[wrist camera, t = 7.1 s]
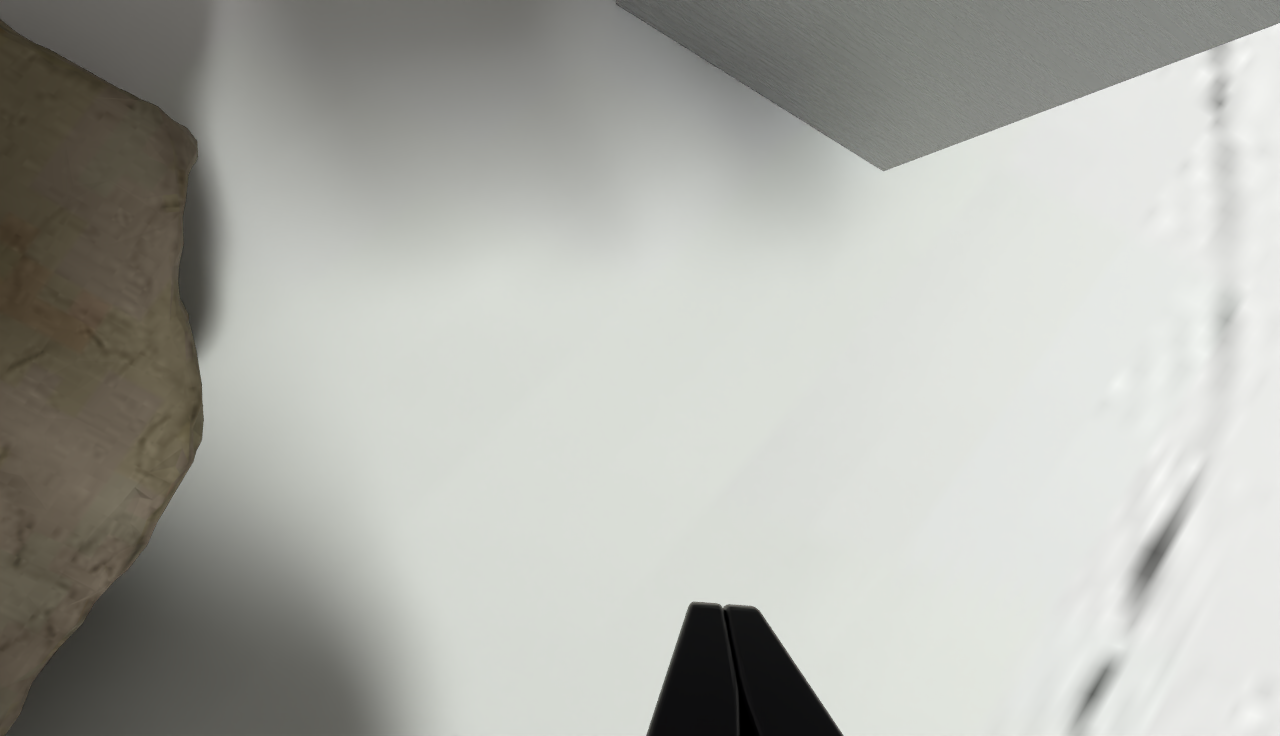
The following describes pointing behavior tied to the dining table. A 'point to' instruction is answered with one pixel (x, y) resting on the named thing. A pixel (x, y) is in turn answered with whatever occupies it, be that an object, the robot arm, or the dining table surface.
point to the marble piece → (84, 345)
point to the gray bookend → (940, 57)
